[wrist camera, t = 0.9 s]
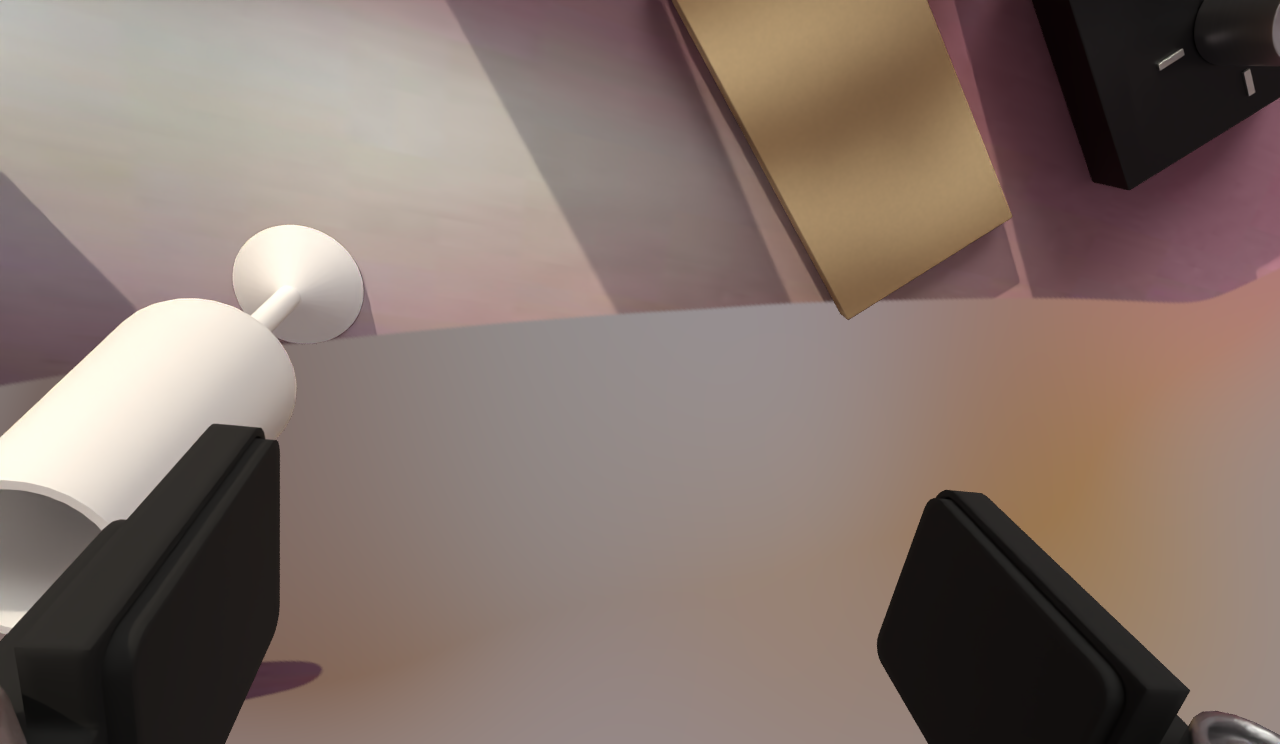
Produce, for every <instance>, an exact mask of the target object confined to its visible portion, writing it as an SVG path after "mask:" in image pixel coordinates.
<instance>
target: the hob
mask: <svg viewBox="0 0 1280 744" xmlns="http://www.w3.org/2000/svg"><path fill="white" fill-rule="evenodd" d="M1203 1H1204V0H1032V2H1033V5H1034V8H1035V11H1036V14H1037V17H1038V20H1039V23H1040V26H1041V29H1042V32H1043V35H1044V38H1045V41H1046V44H1047V47H1048V50H1049V53H1050V56H1051V59H1052V62H1053V65H1054V68H1055V71H1056V74H1057V77H1058V80H1059V83H1060V86H1061V89H1062V92H1063V95H1064V98H1065V101H1066V103H1067V106H1068V109H1069V112H1070V115H1071V118H1072V121H1073V124H1074V127H1075V130H1076V133H1077V136H1078V139H1079V142H1080V145H1081V148H1082V151H1083V154H1084V157H1085V160H1086V163H1087V166H1088V169H1089V172H1090V175H1091V178H1092V181H1093V182H1095V183H1099V184H1103V185H1108V186H1112V187H1117V188H1121V189H1125V190H1131V189H1133V188H1134V187H1136V186H1138V185H1139V184H1141V183H1142V182H1144V181H1146V180H1147V179H1149V178H1150V177H1152V176H1154V175H1155V174H1157V173H1159V172H1160V171H1162V170H1163V169H1165V168H1167V167H1168V166H1170V165H1171V164H1173V163H1175V162H1176V161H1178V160H1180V159H1181V158H1183V157H1184V156H1186V155H1188V154H1189V153H1191V152H1192V151H1194V150H1196V149H1197V148H1199V147H1201V146H1202V145H1204V144H1205V143H1207V142H1209V141H1210V140H1212V139H1213V138H1215V137H1217V136H1218V135H1220V134H1222V133H1223V132H1225V131H1226V130H1228V129H1230V128H1231V127H1233V126H1234V125H1236V124H1238V123H1239V122H1241V121H1243V120H1244V119H1246V118H1247V117H1249V116H1251V115H1252V114H1254V113H1255V112H1257V111H1259V110H1260V109H1262V108H1264V107H1265V106H1267V105H1268V104H1270V103H1272V102H1273V101H1275V100H1277V99H1278V98H1280V66H1227V65H1214V64H1212V63H1209V62H1208V61H1206V60H1205V59H1204V58H1203V57H1202V56H1201V55H1200V54H1199V52H1198V50H1197V48H1196V45H1195V40H1194V27H1195V21H1196V18H1197V14H1198V12H1199V9H1200V7H1201V5H1202V3H1203Z"/></svg>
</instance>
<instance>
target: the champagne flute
mask: <svg viewBox="0 0 1280 744" xmlns="http://www.w3.org/2000/svg"><path fill="white" fill-rule="evenodd" d="M233 287H234V291H235V295H236V297H237V300H238V302H239V304H240V306H241V308H242V309H243V311H244V312H243V311H241V310H239V309H237V308H235V307H233V306H230V305H226V304H223V303H220V302H217V301H212V300H205V299H198V298H186V299H174V300H169V301H164V302H160V303H155V304H152V305H150V306H148V307H145V308H143V309H141V310H138V311H137V312H135V313H134V314H133V315H131V316H130V317H128V318H127V319H126V320H124V321H123V322H122V323H121V324H120V325H119V326H118V327H117V328H116V329H115V330H114V331H113V332H111V333H110V334H109V335H108V336H107V337H106V338H105V339H104V340H103V341H102V342H101V343H100V344H99V345H98V346H97V347H96V348H95V349H93V350H92V351H91V352H90V353H89V354H88V355H87V356H86V357H85V358H84V359H83V360H82V361H81V362H80V363H79V364H78V365H76V366H75V367H74V368H73V369H72V370H71V371H70V372H69V373H68V374H67V375H66V376H65V377H64V378H63V379H62V380H61V381H60V382H58V383H57V384H56V385H55V386H54V387H53V388H52V389H51V390H50V391H49V392H48V393H47V394H46V395H45V396H44V397H43V398H41V400H39V401H38V402H37V403H36V404H35V405H34V406H33V407H32V408H31V409H30V410H29V411H28V412H27V413H26V414H25V415H23V416H22V417H21V418H20V419H19V420H18V421H17V422H16V423H15V424H14V425H13V426H12V427H11V428H10V429H9V430H8V431H6V432H5V433H4V434H3V435H2V436H1V437H0V633H3V634H7V633H8V632H9V631H10V630H11V629H12V628H13V627H14V626H15V625H16V624H17V622H18V621H19V620H20V619H21V618H22V617H23V616H24V615H25V614H26V613H27V612H28V610H29V609H30V608H31V607H32V606H33V605H34V604H35V603H36V602H37V601H38V600H39V598H40V597H41V596H42V595H43V594H44V593H45V592H46V591H47V590H48V589H49V588H50V586H51V585H52V584H53V583H54V582H55V581H56V580H57V579H58V578H59V577H60V576H61V575H62V573H63V572H64V571H65V570H66V569H67V568H68V567H69V566H70V565H71V564H72V563H73V561H74V560H75V559H76V558H77V557H78V556H79V555H80V554H81V553H82V552H83V551H84V549H85V548H86V547H87V546H88V545H89V544H90V543H91V542H92V541H93V540H94V539H95V537H96V536H97V535H98V534H99V533H100V532H101V531H102V530H103V529H104V528H105V527H106V526H107V525H109V524H110V523H111V522H112V521H116V520H120V519H124V520H127V519H128V518H129V516H130V515H131V514H132V513H133V512H134V511H135V510H136V508H137V507H138V506H139V505H140V504H141V503H142V502H143V501H144V499H145V498H146V497H147V496H148V495H149V494H150V493H151V492H152V490H153V489H154V488H155V487H156V486H157V485H158V484H159V483H160V481H161V480H162V479H163V478H164V477H165V476H166V475H167V474H168V472H169V471H170V470H171V469H172V468H173V467H174V466H175V464H176V463H177V462H178V461H179V460H180V459H181V458H182V457H183V455H184V454H185V453H186V452H187V451H188V450H189V449H190V448H191V446H192V445H193V444H194V443H195V442H196V441H197V440H198V439H199V437H200V436H201V435H202V434H203V433H204V432H205V431H206V429H207V428H208V427H209V426H211V425H212V424H226V425H237V426H248V427H259V428H262V429H263V431H264V434H265V439H269V440H275V439H276V438H277V437H278V436H279V435H280V434H281V433H282V432H283V431H284V429H285V428H286V426H287V424H288V422H289V421H290V419H291V417H292V413H293V410H294V406H295V401H296V388H297V387H296V386H297V383H296V377H295V372H294V368H293V365H292V363H291V361H290V358H289V356H288V353H287V352H286V351H285V349H284V347H283V346H282V344H281V343H280V341H279V340H278V339H281V340H285V341H288V342H292V343H299V344H316V343H320V342H325V341H328V340H330V339H333V338H335V337H337V336H339V335H340V334H342V333H343V332H344V331H346V330H347V329H348V328H349V327H350V326H351V325H352V324H353V323H354V321H355V319H356V318H357V316H358V314H359V312H360V309H361V306H362V303H363V293H364V289H363V282H362V277H361V274H360V271H359V269H358V266H357V265H356V263H355V261H354V260H353V258H352V256H351V255H350V254H349V253H348V252H347V251H346V249H345V248H344V247H343V246H342V245H341V244H339V243H338V242H337V241H336V240H334V239H333V238H331V237H330V236H328V235H326V234H324V233H323V232H321V231H318V230H315V229H312V228H309V227H305V226H299V225H280V226H275V227H270V228H268V229H265V230H263V231H261V232H258V233H257V234H256V235H254V236H253V237H251V238H250V239H249V240H248V241H247V242H246V243H245V244H244V245H243V247H242V248H241V249H240V251H239V253H238V255H237V257H236V259H235V263H234V267H233ZM277 338H278V339H277Z"/></svg>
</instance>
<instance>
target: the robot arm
mask: <svg viewBox="0 0 1280 744" xmlns="http://www.w3.org/2000/svg"><path fill="white" fill-rule="evenodd" d="M279 552H280V449H279V444H278V441H277V440H269V439H265V434H264V431H263V429H262V428H259V427H248V426H237V425H226V424H212V425H211V426H209V427H208V428H207V429H206V431H205V432H204V433H203V434H202V435H201V436H200V437H199V439H198V440H197V441H196V442H195V443H194V444H193V445H192V446H191V448H190V449H189V450H188V451H187V452H186V453H185V454H184V455H183V457H182V458H181V459H180V460H179V461H178V462H177V463H176V464H175V466H174V467H173V468H172V469H171V470H170V471H169V472H168V474H167V475H166V476H165V477H164V478H163V479H162V480H161V481H160V483H159V484H158V485H157V486H156V487H155V488H154V489H153V490H152V492H151V493H150V494H149V495H148V496H147V497H146V498H145V499H144V501H143V502H142V503H141V504H140V505H139V506H138V507H137V508H136V510H135V511H134V512H133V513H132V514H131V515H130V516H129V518H128V519H127V520H124V519H120V520H116V521H112V522H111V523H110V524H109V525H107V526H106V527H105V528H104V529H103V530H102V531H101V532H100V533H99V534H98V535H97V536H96V537H95V539H94V540H93V541H92V542H91V543H90V544H89V545H88V546H87V547H86V548H85V549H84V551H83V552H82V553H81V554H80V555H79V556H78V557H77V558H76V559H75V560H74V561H73V563H72V564H71V565H70V566H69V567H68V568H67V569H66V570H65V571H64V572H63V573H62V575H61V576H60V577H59V578H58V579H57V580H56V581H55V582H54V583H53V584H52V585H51V586H50V588H49V589H48V590H47V591H46V592H45V593H44V594H43V595H42V596H41V597H40V598H39V600H38V601H37V602H36V603H35V604H34V605H33V606H32V607H31V608H30V609H29V610H28V612H27V613H26V614H25V615H24V616H23V617H22V618H21V619H20V620H19V621H18V622H17V624H16V625H15V626H14V627H13V628H12V629H11V630H10V631H9V632H8V633H7V634H6V635H5V637H4V638H3V639H2V640H1V641H0V744H225V742H226V740H227V738H228V736H229V733H230V731H231V729H232V727H233V724H234V722H235V720H236V718H237V716H238V713H239V711H240V709H241V707H242V705H243V702H244V700H245V698H246V696H247V694H248V691H249V689H250V687H251V685H252V682H253V680H254V678H255V676H256V674H257V671H258V669H259V667H260V665H261V662H262V660H263V658H264V656H265V654H266V651H267V649H268V647H269V645H270V642H271V640H272V638H273V635H274V633H275V630H276V626H277V621H278V616H279V606H280V605H279V604H280V601H279V600H280V596H279V595H280V593H279V592H280V591H279V590H280V571H279V570H280V553H279ZM877 649H878V650H877V651H878V656H879V659H880V661H881V663H882V665H883V667H884V668H885V670H886V672H887V674H888V675H889V677H890V679H891V681H892V682H893V684H894V686H895V687H896V689H897V691H898V693H899V694H900V696H901V698H902V700H903V701H904V703H905V705H906V706H907V708H908V710H909V712H910V713H911V715H912V717H913V718H914V720H915V722H916V723H917V725H918V727H919V729H920V730H921V732H922V734H923V735H924V737H925V739H926V741H927V743H928V744H1280V735H1278V734H1277V733H1275V732H1273V731H1271V730H1269V729H1267V728H1265V727H1263V726H1261V725H1259V724H1257V723H1255V722H1252V721H1250V720H1247V719H1245V718H1242V717H1239V716H1237V715H1233V714H1229V713H1223V712H1219V711H1206V712H1201V713H1199V714H1198V715H1196V716H1195V717H1193V719H1192V721H1191V723H1190V724H1189V726H1187V725H1186V724H1185V722H1183V720H1182V719H1181V718H1180V717H1179V716H1177V713H1178V711H1179V709H1180V708H1181V706H1182V704H1183V702H1184V701H1185V699H1186V697H1187V695H1188V694H1189V692H1190V690H1189V689H1188V688H1187V687H1186V686H1185V685H1184V684H1183V683H1182V682H1181V681H1180V680H1179V679H1178V678H1177V677H1175V676H1174V675H1173V674H1172V673H1171V672H1170V671H1169V670H1168V669H1167V668H1166V667H1165V666H1164V665H1163V664H1162V663H1161V662H1160V661H1159V660H1158V659H1156V658H1155V656H1153V655H1152V654H1151V653H1150V652H1149V651H1148V650H1147V649H1146V648H1145V647H1144V646H1143V645H1142V644H1141V643H1140V642H1139V641H1138V640H1137V639H1136V638H1135V637H1134V636H1133V635H1131V634H1130V633H1129V632H1128V631H1127V630H1126V629H1125V628H1124V627H1123V626H1122V625H1121V624H1120V623H1119V622H1118V621H1117V620H1116V619H1115V618H1114V617H1113V616H1111V615H1110V614H1109V613H1108V612H1107V611H1106V610H1105V609H1104V608H1103V607H1102V606H1101V605H1100V604H1099V603H1098V602H1097V601H1096V600H1095V599H1094V598H1093V597H1092V596H1090V594H1088V593H1087V592H1086V591H1085V590H1084V589H1083V588H1082V587H1081V586H1080V585H1079V584H1078V583H1077V582H1076V581H1075V580H1074V579H1073V578H1072V577H1071V576H1070V575H1069V574H1068V573H1066V572H1065V571H1064V570H1063V569H1062V568H1061V567H1060V566H1059V565H1058V564H1057V563H1056V562H1055V561H1054V560H1053V559H1052V558H1051V557H1050V556H1049V555H1047V553H1046V552H1045V551H1043V550H1042V549H1041V548H1040V547H1039V546H1038V545H1037V544H1036V543H1035V542H1034V541H1033V540H1032V539H1031V538H1030V537H1029V536H1028V535H1027V534H1026V533H1025V532H1024V531H1022V530H1021V529H1020V528H1019V527H1018V526H1017V525H1016V524H1015V523H1014V522H1013V521H1012V520H1011V519H1010V518H1009V517H1008V516H1007V515H1006V514H1005V513H1004V512H1003V511H1001V509H999V508H998V507H997V506H996V505H995V504H994V503H993V502H992V501H991V500H990V499H989V498H988V497H987V496H985V495H983V494H982V493H974V492H963V491H951V490H944V491H942V492H940V493H939V494H938V495H937V497H936V498H933V499H931V500H930V501H929V502H928V503H927V504H926V506H925V508H924V511H923V514H922V517H921V519H920V522H919V525H918V528H917V530H916V533H915V536H914V539H913V542H912V544H911V547H910V550H909V552H908V555H907V558H906V561H905V563H904V566H903V569H902V572H901V574H900V577H899V580H898V583H897V585H896V588H895V591H894V594H893V596H892V599H891V602H890V605H889V608H888V610H887V613H886V616H885V619H884V621H883V624H882V627H881V629H880V633H879V635H878V639H877Z"/></svg>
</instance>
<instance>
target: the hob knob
mask: <svg viewBox="0 0 1280 744" xmlns="http://www.w3.org/2000/svg"><path fill="white" fill-rule="evenodd" d="M1194 40H1195V45H1196V48H1197V50H1198V52H1199V54H1200V55H1201V56H1202V57H1203V58H1204V59H1205V60H1206V61H1208V62H1209V63H1212V64H1214V65H1227V66H1280V0H1204V1H1203V3H1202V5H1201V7H1200V9H1199V12H1198V14H1197V18H1196V21H1195V27H1194Z"/></svg>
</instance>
